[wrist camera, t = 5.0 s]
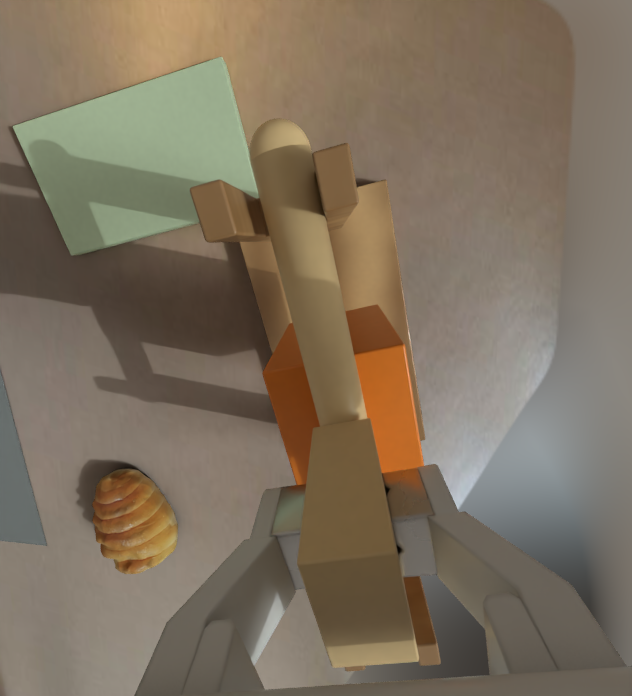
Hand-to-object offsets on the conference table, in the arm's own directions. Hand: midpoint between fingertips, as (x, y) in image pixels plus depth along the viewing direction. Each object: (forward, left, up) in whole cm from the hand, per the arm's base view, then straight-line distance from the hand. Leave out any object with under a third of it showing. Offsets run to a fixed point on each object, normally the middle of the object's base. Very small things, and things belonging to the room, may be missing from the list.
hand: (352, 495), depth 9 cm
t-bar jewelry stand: (0, 0, -10) cm, 10 cm away
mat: (+10, -14, -16) cm, 23 cm away
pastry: (+22, +13, -16) cm, 30 cm away
